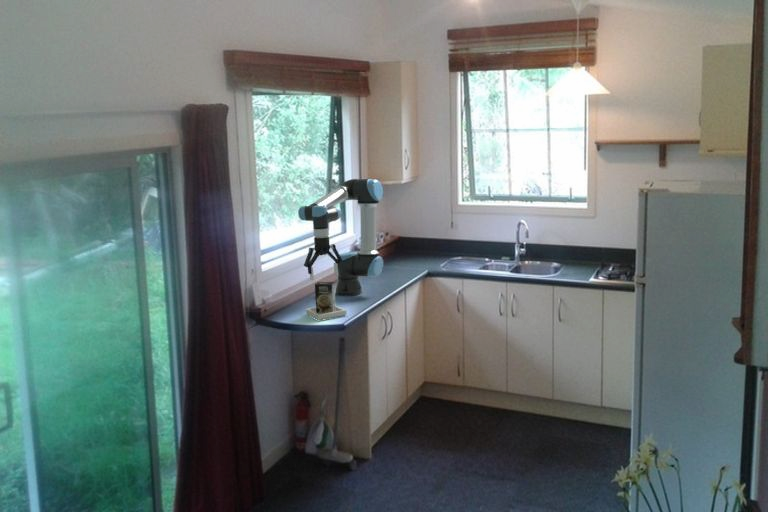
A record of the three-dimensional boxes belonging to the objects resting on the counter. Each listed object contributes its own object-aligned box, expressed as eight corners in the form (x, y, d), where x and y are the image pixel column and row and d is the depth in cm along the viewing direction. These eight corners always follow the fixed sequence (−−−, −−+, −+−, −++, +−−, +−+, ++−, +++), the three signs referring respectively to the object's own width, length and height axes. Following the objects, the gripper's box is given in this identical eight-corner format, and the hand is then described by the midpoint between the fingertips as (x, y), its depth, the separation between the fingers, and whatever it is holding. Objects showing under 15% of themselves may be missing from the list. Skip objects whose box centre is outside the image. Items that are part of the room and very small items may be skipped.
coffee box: (315, 315, 376) (314, 284, 373) (319, 311, 382) (317, 281, 379) (333, 315, 374) (331, 284, 371) (336, 312, 380) (334, 281, 377)
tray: (333, 309, 388) (332, 304, 388) (346, 315, 375) (346, 310, 375) (306, 314, 381) (305, 308, 380) (318, 321, 368) (318, 315, 367)
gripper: (340, 232, 379) (343, 272, 384) (295, 238, 368) (298, 280, 372) (347, 234, 373) (349, 275, 377) (301, 240, 361) (304, 283, 366)
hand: (324, 277), depth 375 cm, fingers open, 13 cm apart
